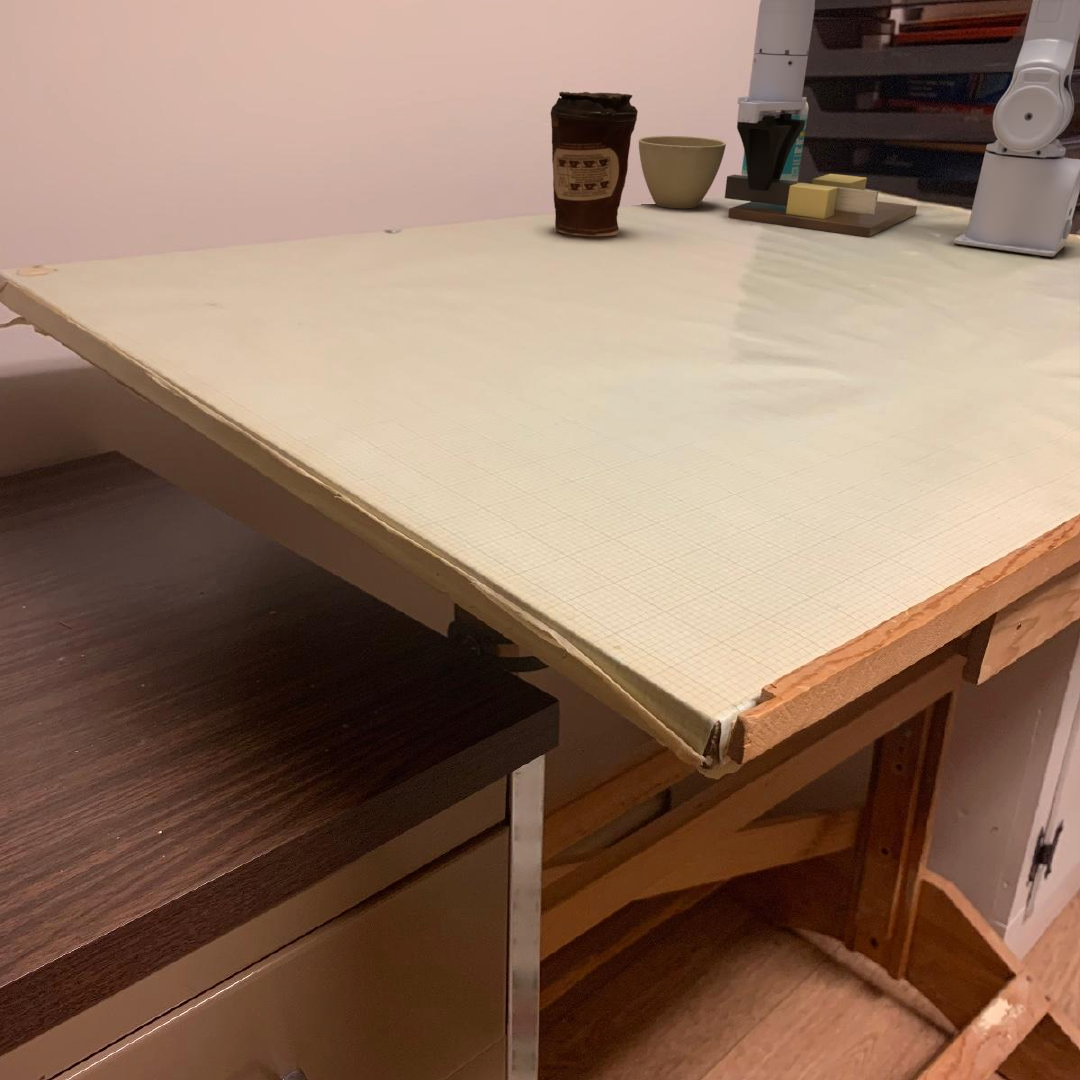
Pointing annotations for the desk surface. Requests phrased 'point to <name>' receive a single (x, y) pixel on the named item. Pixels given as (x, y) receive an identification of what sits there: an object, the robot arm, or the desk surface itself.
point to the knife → (779, 195)
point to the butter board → (837, 223)
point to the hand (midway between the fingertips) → (762, 188)
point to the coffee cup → (590, 160)
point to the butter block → (841, 181)
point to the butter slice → (811, 200)
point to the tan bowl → (680, 168)
